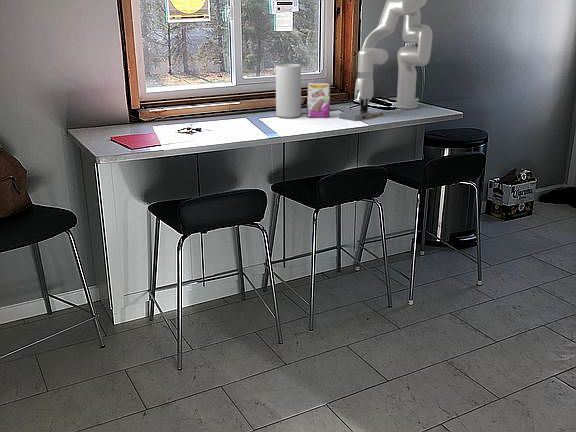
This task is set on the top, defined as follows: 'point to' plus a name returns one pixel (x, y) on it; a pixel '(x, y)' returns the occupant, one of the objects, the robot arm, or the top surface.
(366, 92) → the robot arm
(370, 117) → the pair of brown sticks
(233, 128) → the top surface
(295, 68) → the cylinder vase
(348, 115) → the steel cover plate
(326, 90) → the candy bar box
